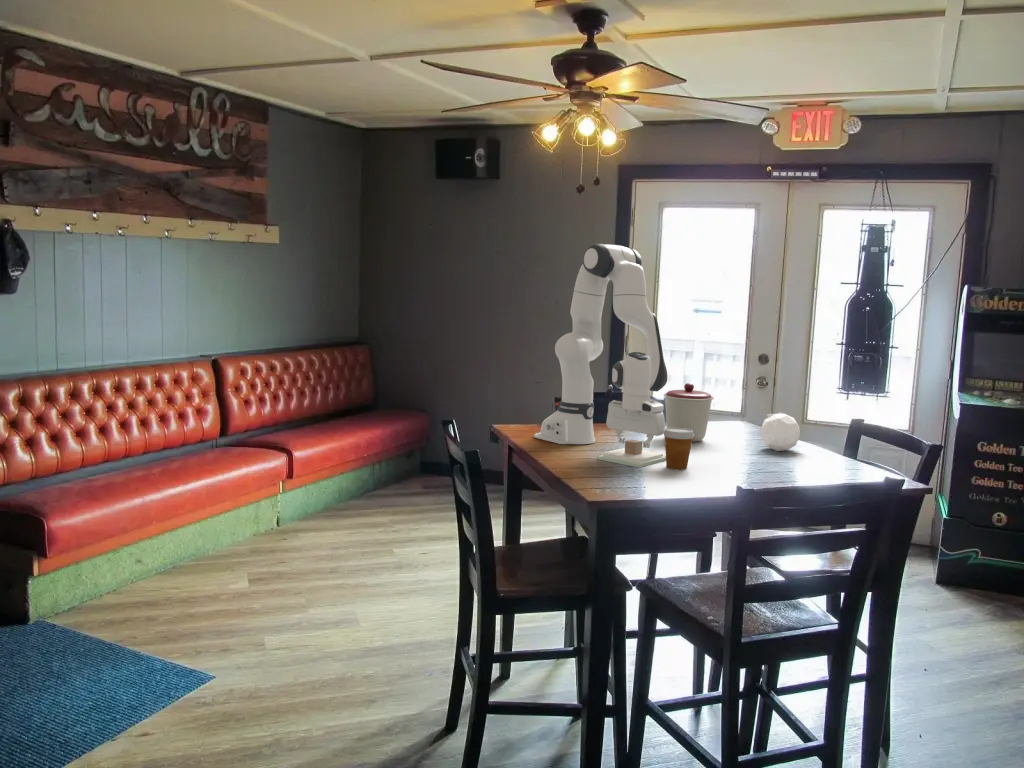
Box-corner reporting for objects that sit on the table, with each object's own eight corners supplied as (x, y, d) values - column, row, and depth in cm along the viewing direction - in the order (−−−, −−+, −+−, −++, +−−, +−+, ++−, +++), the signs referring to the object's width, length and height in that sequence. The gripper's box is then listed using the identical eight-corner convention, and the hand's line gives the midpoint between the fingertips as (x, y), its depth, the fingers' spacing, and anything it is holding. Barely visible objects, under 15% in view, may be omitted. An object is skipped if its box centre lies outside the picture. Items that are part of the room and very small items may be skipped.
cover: (602, 455, 280) (603, 440, 279) (626, 450, 291) (627, 435, 290) (640, 462, 271) (640, 447, 270) (662, 456, 282) (663, 441, 281)
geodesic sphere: (755, 436, 299) (781, 406, 298) (745, 429, 313) (771, 400, 311) (786, 462, 300) (813, 432, 298) (775, 454, 313) (801, 425, 312)
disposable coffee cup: (667, 471, 265) (670, 432, 264) (656, 464, 274) (659, 427, 273) (697, 471, 267) (699, 432, 266) (685, 464, 276) (687, 427, 275)
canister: (720, 443, 314) (724, 386, 311) (675, 445, 308) (679, 386, 306) (695, 434, 331) (698, 380, 328) (652, 435, 326) (655, 380, 323)
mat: (596, 459, 279) (597, 456, 279) (627, 451, 293) (627, 449, 293) (639, 467, 269) (639, 464, 269) (668, 459, 283) (668, 456, 282)
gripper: (603, 400, 283) (601, 441, 284) (658, 408, 270) (655, 451, 272) (614, 398, 288) (612, 439, 289) (668, 406, 275) (665, 449, 276)
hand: (633, 445), depth 280 cm, fingers open, 8 cm apart
